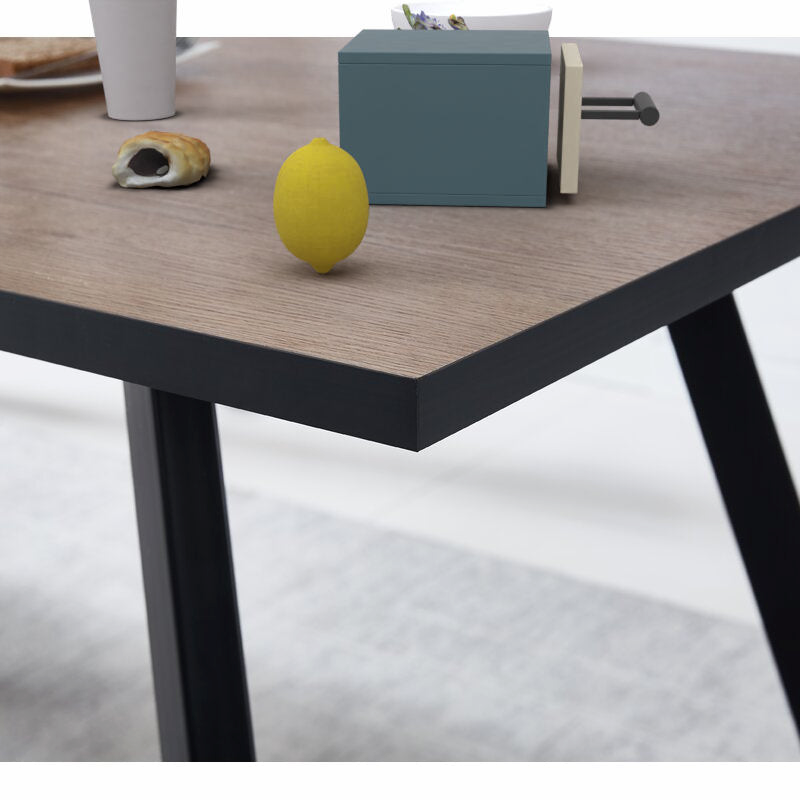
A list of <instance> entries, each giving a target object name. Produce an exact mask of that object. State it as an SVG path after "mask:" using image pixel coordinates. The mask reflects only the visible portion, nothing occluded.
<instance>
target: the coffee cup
mask: <svg viewBox="0 0 800 800" xmlns="http://www.w3.org/2000/svg"><path fill="white" fill-rule="evenodd" d="M88 4H89V5H88V6H89V10H90V11H89V12H90V17H91V21H92V27H93V33H94V39H95V45H96V51H97V56H98V63H99V69H100V75H101V79H102V85H103V86H102V87H103V92H104V98H105V103H106V110H107V115H108V117H109V118H110V119H114V120H121V121H152V120H160V119H166V118H171V117H173V116H175V115H176V78H177V77H176V76H177V74H176V71H177V21H178V20H177V15H178V12H177V11H178V0H88Z"/></svg>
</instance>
